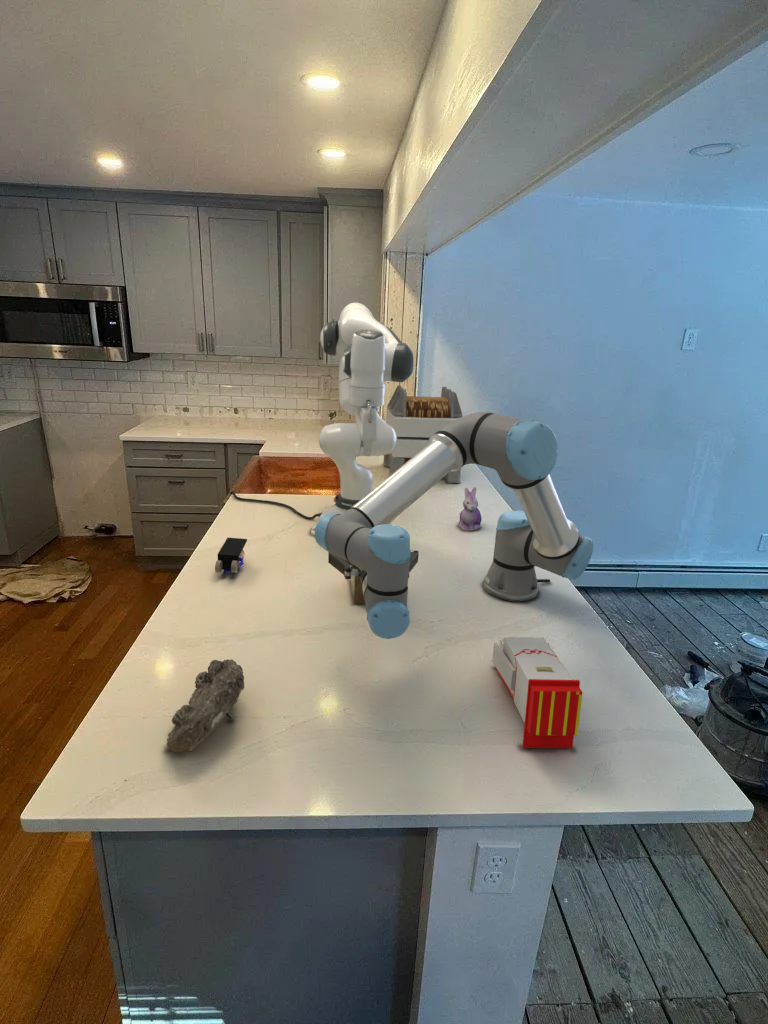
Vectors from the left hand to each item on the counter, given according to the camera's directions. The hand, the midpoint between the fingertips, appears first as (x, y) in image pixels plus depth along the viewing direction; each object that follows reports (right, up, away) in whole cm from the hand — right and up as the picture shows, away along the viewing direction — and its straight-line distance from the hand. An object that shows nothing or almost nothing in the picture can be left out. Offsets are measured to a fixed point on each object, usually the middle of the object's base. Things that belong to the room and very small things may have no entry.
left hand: (365, 450), depth 148 cm
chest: (-1, -38, +10) cm, 40 cm away
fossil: (-28, -55, -40) cm, 74 cm away
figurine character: (-40, -33, +19) cm, 55 cm away
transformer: (+22, +3, +127) cm, 129 cm away
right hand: (+2, -23, -14) cm, 27 cm away
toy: (+34, -55, -31) cm, 72 cm away
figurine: (+36, -22, +61) cm, 74 cm away
